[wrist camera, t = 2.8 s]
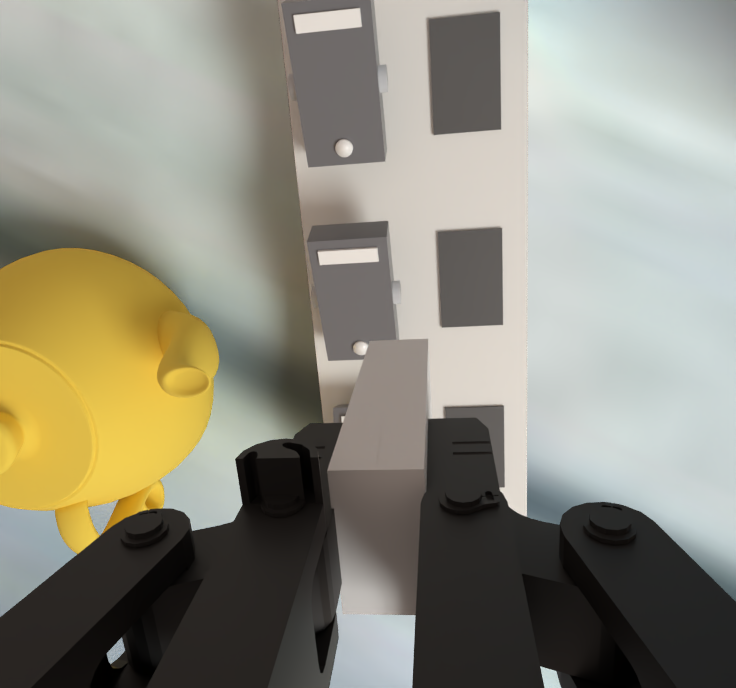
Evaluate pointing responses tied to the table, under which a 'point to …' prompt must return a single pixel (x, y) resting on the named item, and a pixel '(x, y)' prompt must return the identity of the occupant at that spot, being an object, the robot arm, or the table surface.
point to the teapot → (96, 387)
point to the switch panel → (445, 210)
